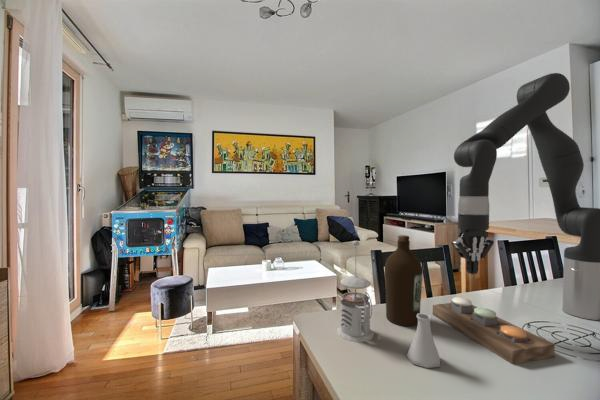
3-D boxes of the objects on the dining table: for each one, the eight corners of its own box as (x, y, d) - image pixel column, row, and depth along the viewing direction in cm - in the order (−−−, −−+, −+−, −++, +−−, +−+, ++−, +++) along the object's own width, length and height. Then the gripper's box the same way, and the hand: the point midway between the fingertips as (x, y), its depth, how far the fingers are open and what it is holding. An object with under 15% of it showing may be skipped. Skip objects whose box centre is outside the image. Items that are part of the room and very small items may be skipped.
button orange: (511, 339, 72) (511, 324, 72) (531, 349, 67) (531, 334, 67) (495, 341, 71) (495, 326, 71) (514, 352, 66) (514, 336, 66)
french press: (361, 321, 83) (362, 236, 82) (385, 341, 72) (386, 243, 71) (331, 326, 80) (331, 238, 79) (351, 348, 69) (351, 246, 68)
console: (465, 310, 91) (465, 301, 91) (554, 357, 65) (554, 344, 65) (432, 314, 88) (432, 304, 88) (512, 364, 63) (512, 350, 63)
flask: (445, 371, 60) (446, 324, 60) (409, 367, 62) (410, 321, 61) (436, 352, 67) (436, 310, 67) (404, 348, 69) (404, 308, 68)
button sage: (484, 320, 80) (484, 306, 79) (500, 328, 75) (500, 314, 75) (469, 322, 78) (469, 308, 78) (484, 330, 74) (485, 316, 73)
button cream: (462, 308, 87) (462, 296, 87) (475, 315, 82) (475, 302, 82) (448, 310, 86) (448, 297, 86) (461, 317, 81) (461, 304, 81)
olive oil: (379, 321, 83) (380, 236, 82) (389, 309, 92) (390, 232, 91) (418, 331, 77) (419, 240, 77) (424, 317, 86) (426, 235, 85)
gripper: (480, 211, 85) (479, 268, 86) (443, 211, 82) (442, 271, 82) (504, 213, 78) (502, 275, 78) (465, 213, 75) (463, 279, 75)
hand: (472, 273), depth 80 cm, fingers closed
